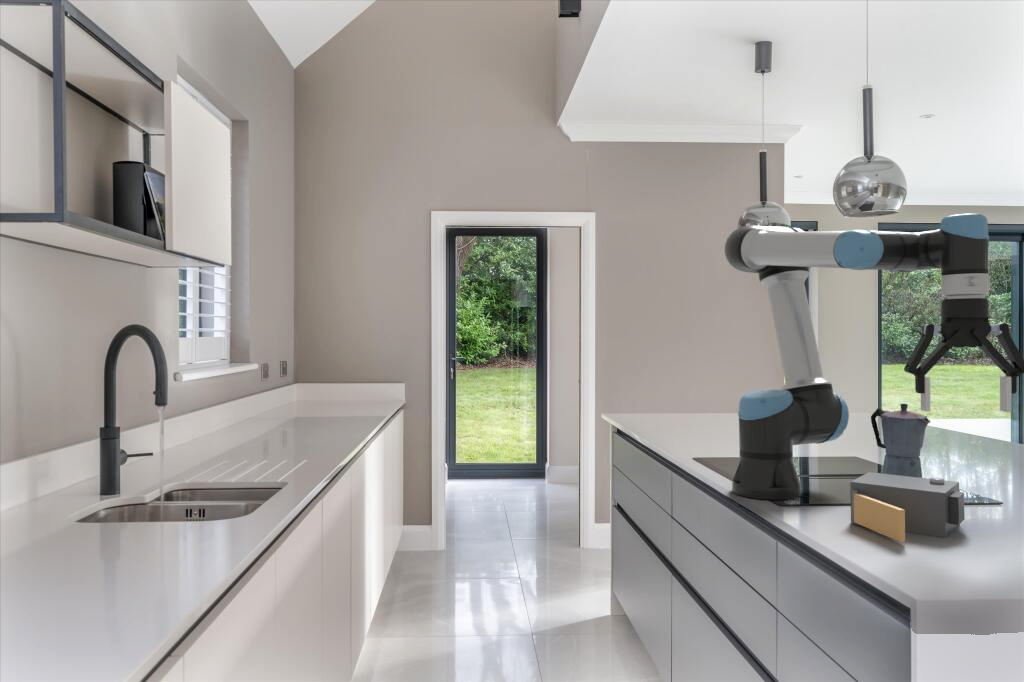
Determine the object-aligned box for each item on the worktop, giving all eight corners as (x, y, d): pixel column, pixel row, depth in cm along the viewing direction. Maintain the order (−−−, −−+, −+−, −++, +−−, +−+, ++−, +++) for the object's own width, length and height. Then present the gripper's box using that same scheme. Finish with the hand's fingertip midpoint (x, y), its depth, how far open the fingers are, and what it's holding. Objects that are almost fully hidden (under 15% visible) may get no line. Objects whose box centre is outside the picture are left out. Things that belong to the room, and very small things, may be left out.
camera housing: (850, 522, 138) (850, 477, 138) (869, 510, 147) (869, 468, 147) (955, 539, 127) (955, 489, 127) (969, 525, 136) (968, 478, 135)
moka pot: (918, 496, 159) (917, 407, 159) (856, 484, 173) (855, 401, 172) (944, 491, 163) (943, 404, 163) (882, 479, 177) (881, 399, 177)
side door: (851, 523, 138) (850, 489, 138) (855, 522, 138) (855, 489, 138) (899, 544, 124) (899, 507, 124) (905, 543, 124) (904, 507, 124)
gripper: (898, 298, 132) (899, 412, 133) (1050, 295, 127) (1051, 414, 128) (886, 300, 140) (886, 408, 140) (1029, 297, 135) (1029, 409, 135)
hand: (965, 411), depth 134 cm, fingers open, 13 cm apart
